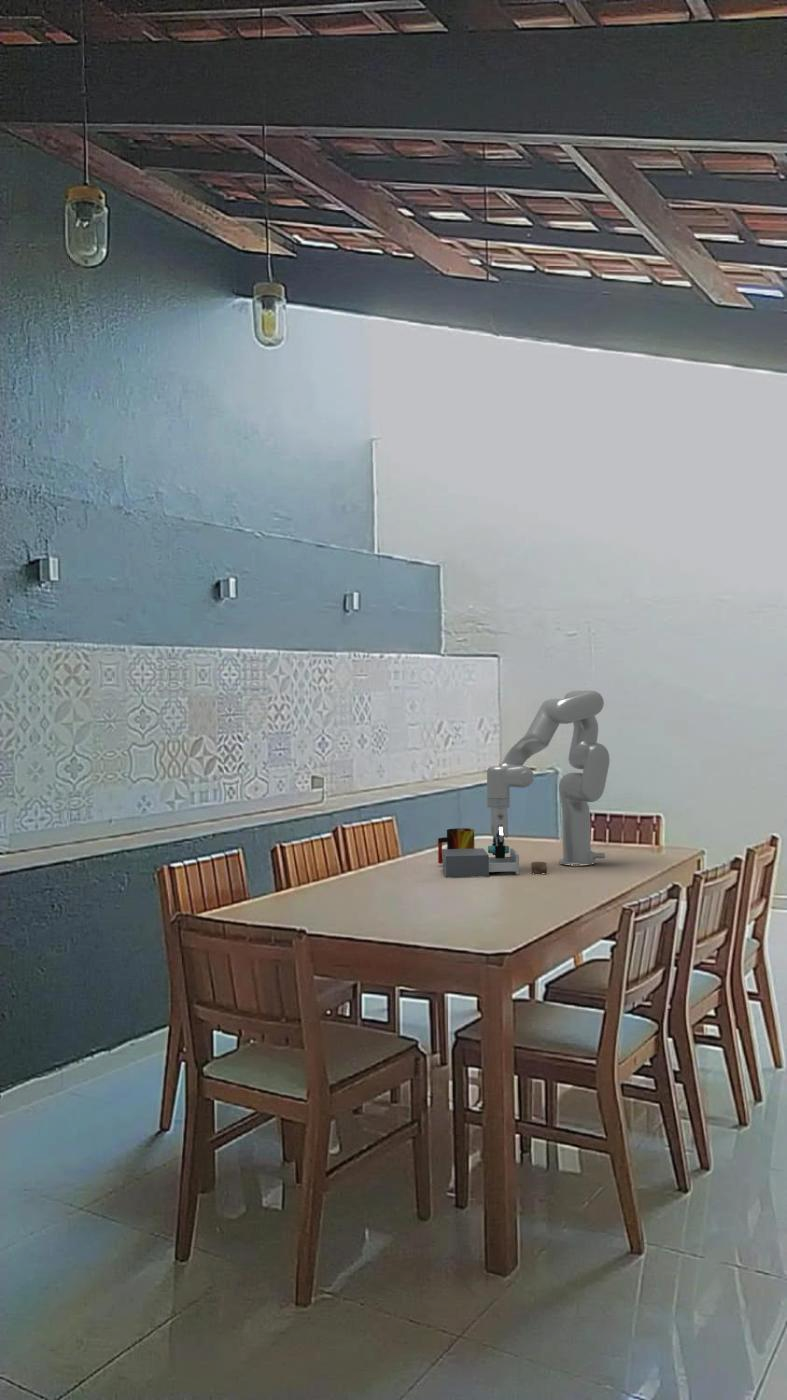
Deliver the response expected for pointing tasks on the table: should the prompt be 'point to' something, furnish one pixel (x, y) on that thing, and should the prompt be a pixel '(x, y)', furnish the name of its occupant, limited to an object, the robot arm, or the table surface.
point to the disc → (492, 849)
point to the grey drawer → (505, 863)
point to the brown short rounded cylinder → (539, 867)
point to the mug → (456, 840)
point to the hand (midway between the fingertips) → (498, 856)
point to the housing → (465, 862)
